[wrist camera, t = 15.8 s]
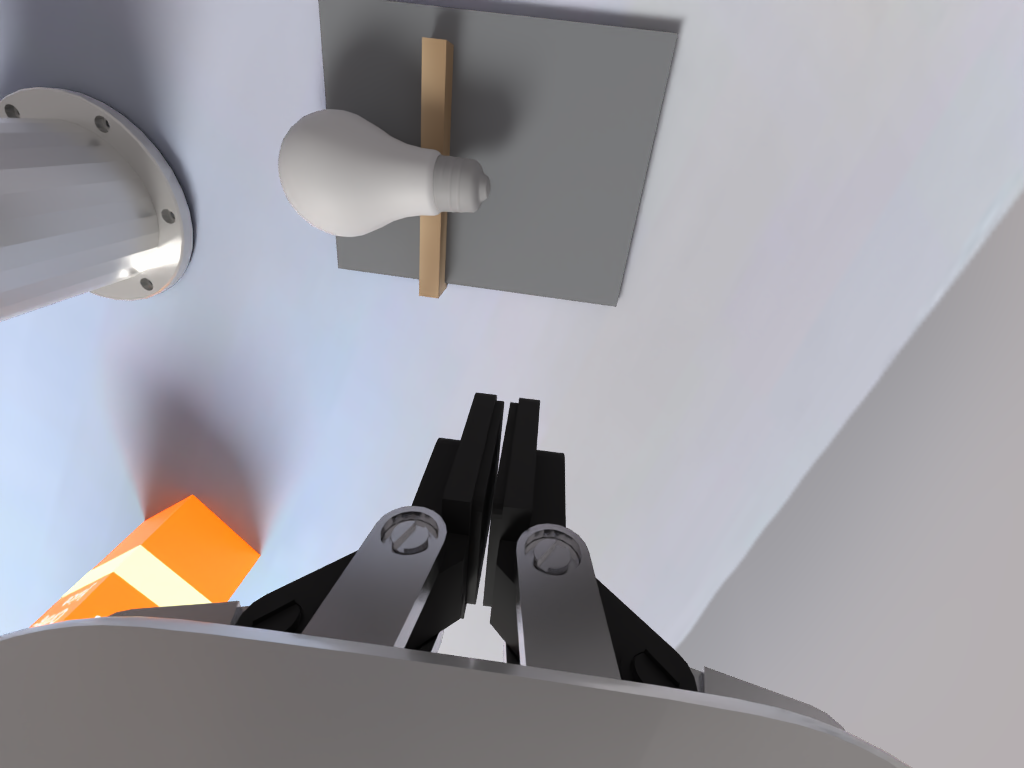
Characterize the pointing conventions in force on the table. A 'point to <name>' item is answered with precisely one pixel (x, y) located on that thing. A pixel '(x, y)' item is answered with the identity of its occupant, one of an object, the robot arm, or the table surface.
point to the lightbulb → (370, 176)
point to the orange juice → (162, 567)
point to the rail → (438, 138)
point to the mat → (510, 138)
